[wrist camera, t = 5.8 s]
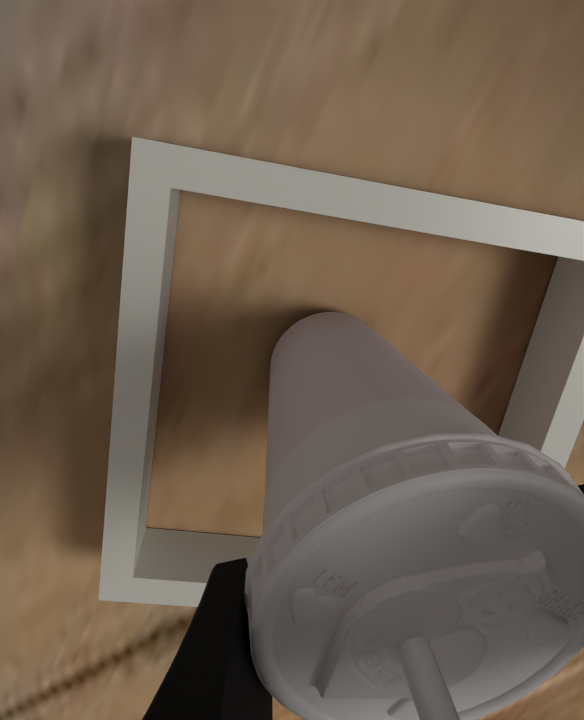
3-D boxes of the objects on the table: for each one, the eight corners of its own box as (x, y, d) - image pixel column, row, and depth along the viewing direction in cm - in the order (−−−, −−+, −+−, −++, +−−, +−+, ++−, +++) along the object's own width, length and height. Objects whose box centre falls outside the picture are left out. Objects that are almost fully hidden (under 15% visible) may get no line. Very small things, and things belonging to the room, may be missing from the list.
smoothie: (185, 344, 17) (116, 1099, 4) (365, 226, 16) (954, 730, 3) (296, 477, 19) (452, 1164, 7) (453, 383, 19) (951, 973, 6)
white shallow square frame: (599, 224, 17) (656, 235, 15) (474, 577, 22) (502, 627, 19) (149, 140, 15) (132, 136, 13) (115, 547, 20) (98, 600, 17)
